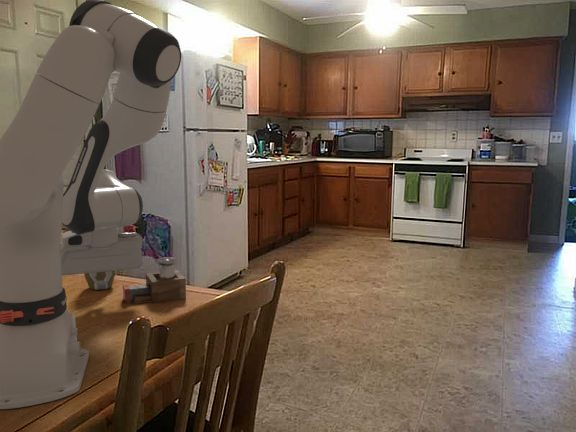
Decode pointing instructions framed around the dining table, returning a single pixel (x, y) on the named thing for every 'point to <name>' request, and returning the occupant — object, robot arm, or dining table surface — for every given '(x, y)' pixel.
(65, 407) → the dining table surface
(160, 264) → the grey cylindrical piece
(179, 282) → the box
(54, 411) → the dining table surface
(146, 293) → the grey rectangular block
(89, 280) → the squeeze bottle
